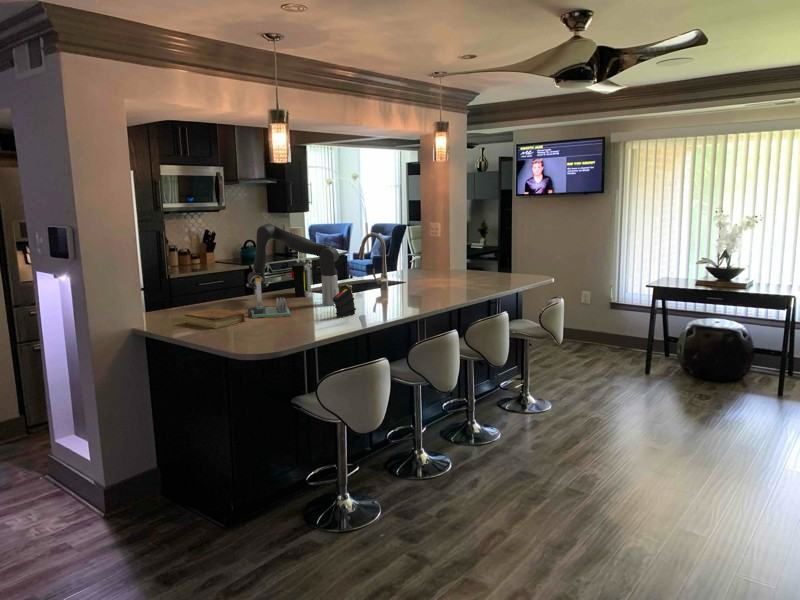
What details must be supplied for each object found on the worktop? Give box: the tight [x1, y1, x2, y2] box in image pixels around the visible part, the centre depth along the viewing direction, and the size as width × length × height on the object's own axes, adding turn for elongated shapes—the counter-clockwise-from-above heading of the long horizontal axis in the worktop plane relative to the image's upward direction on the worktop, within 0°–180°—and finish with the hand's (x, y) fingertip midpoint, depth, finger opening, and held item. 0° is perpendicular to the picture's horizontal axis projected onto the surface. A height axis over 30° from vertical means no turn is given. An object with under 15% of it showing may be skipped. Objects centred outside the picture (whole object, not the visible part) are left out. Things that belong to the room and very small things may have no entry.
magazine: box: [333, 286, 357, 318], centre depth 320 cm, size 4×13×15 cm, turn 138°
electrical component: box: [290, 261, 313, 298], centre depth 389 cm, size 18×10×20 cm, turn 179°
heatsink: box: [247, 297, 287, 317], centre depth 329 cm, size 17×20×7 cm
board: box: [251, 305, 292, 319], centre depth 329 cm, size 22×20×2 cm
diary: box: [184, 307, 246, 330], centre depth 305 cm, size 23×19×6 cm
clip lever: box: [251, 278, 265, 310], centre depth 332 cm, size 5×6×17 cm
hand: (257, 286), depth 341 cm, fingers closed
